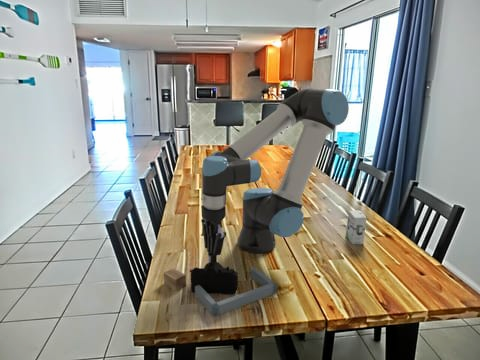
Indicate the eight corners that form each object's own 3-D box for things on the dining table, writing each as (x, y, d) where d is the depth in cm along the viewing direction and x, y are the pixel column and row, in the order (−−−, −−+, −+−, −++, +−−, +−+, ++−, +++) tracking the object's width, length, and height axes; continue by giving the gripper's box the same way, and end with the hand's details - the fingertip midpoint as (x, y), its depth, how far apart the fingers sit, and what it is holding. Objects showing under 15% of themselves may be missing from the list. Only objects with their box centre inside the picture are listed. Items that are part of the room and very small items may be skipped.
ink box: (345, 235, 152) (347, 209, 149) (356, 235, 152) (359, 209, 149) (351, 244, 144) (354, 217, 140) (363, 244, 144) (367, 217, 141)
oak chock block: (174, 279, 116) (173, 268, 115) (185, 286, 112) (185, 274, 111) (164, 283, 114) (163, 272, 112) (175, 291, 110) (175, 279, 109)
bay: (254, 275, 119) (254, 267, 118) (276, 292, 110) (277, 284, 109) (195, 294, 108) (195, 286, 107) (214, 316, 98) (214, 307, 97)
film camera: (239, 279, 117) (239, 254, 114) (236, 296, 107) (237, 270, 105) (193, 276, 118) (193, 252, 115) (187, 293, 108) (186, 267, 106)
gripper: (194, 200, 114) (194, 264, 122) (212, 214, 104) (210, 283, 112) (214, 196, 118) (213, 258, 126) (234, 210, 108) (231, 276, 116)
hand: (212, 270), depth 119 cm, fingers closed
